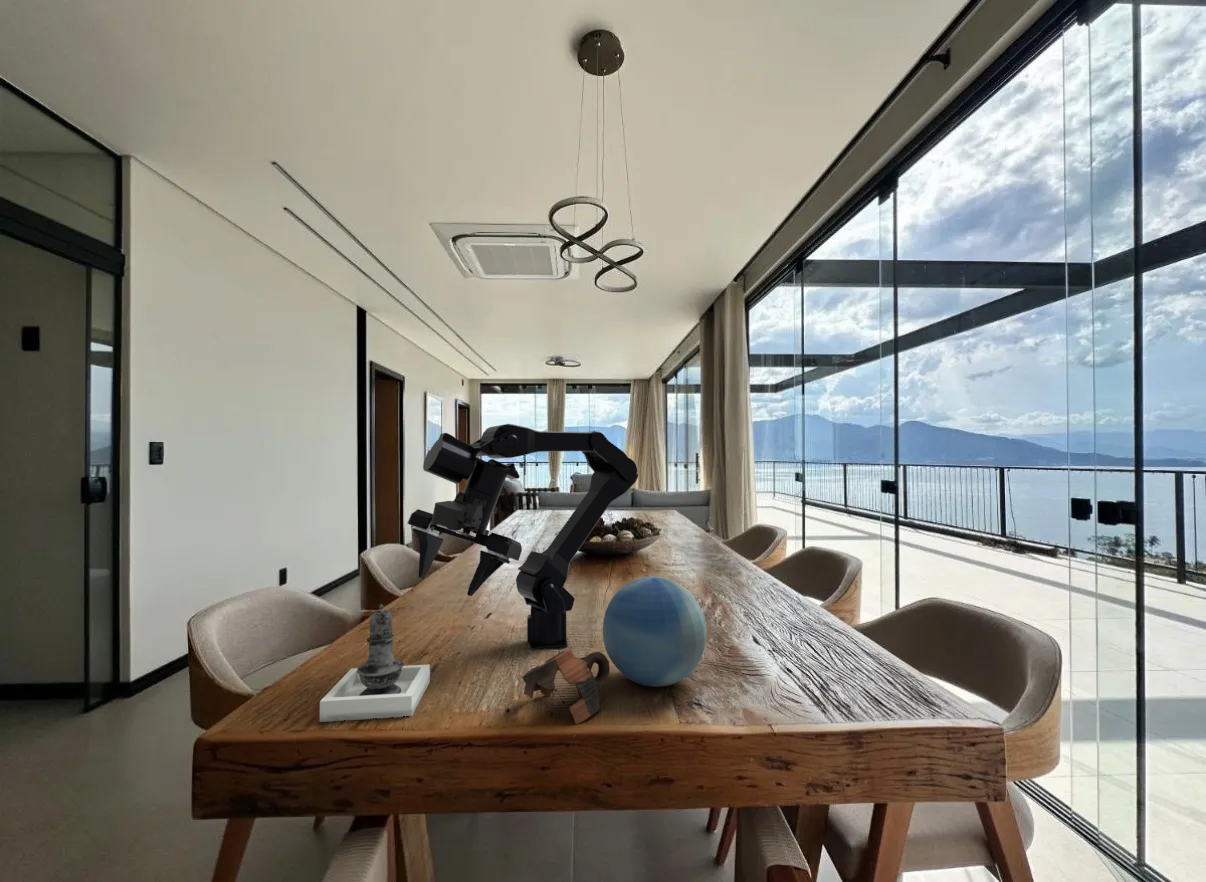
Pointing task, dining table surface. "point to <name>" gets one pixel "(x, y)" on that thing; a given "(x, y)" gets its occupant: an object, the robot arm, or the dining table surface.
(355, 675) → the box
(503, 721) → the dining table surface
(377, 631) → the grey stone finial
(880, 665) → the dining table surface
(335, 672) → the dining table surface
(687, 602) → the decorative ball
